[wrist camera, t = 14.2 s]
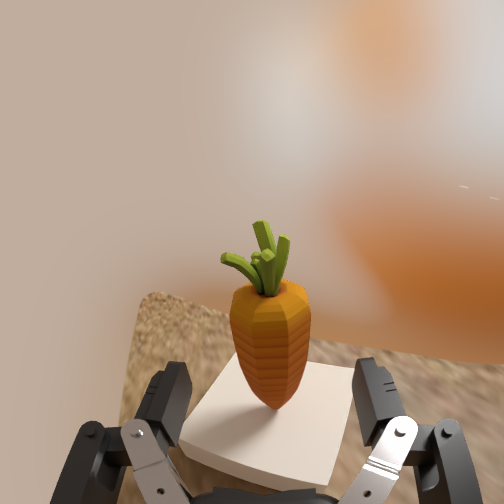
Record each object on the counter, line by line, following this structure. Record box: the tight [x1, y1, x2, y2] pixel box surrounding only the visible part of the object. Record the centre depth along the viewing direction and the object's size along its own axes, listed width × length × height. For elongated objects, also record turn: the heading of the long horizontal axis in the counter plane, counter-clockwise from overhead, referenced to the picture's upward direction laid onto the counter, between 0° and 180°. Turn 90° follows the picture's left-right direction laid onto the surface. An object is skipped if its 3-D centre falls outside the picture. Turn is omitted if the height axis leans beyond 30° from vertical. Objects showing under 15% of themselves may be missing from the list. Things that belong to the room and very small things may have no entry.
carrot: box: [221, 220, 311, 410], centre depth 17 cm, size 5×5×15 cm
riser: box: [178, 353, 355, 494], centre depth 21 cm, size 12×12×4 cm
